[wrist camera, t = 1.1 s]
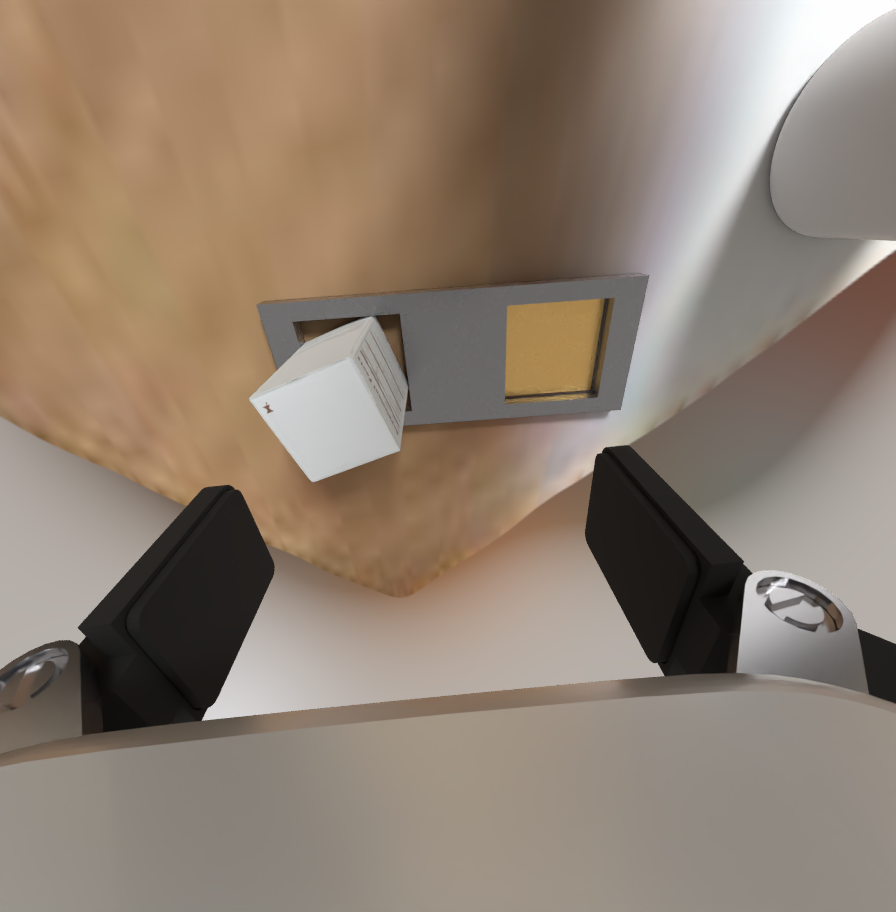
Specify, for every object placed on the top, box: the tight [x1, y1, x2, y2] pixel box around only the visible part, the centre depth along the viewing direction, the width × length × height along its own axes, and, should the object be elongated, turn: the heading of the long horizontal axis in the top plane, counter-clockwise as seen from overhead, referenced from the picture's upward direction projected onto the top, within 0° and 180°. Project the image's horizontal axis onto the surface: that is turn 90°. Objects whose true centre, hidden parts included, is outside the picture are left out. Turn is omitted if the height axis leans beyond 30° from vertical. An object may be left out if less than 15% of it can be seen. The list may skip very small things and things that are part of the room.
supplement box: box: [249, 316, 409, 482], centre depth 29 cm, size 7×7×13 cm
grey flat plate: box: [257, 273, 649, 426], centre depth 34 cm, size 12×32×2 cm, turn 94°
